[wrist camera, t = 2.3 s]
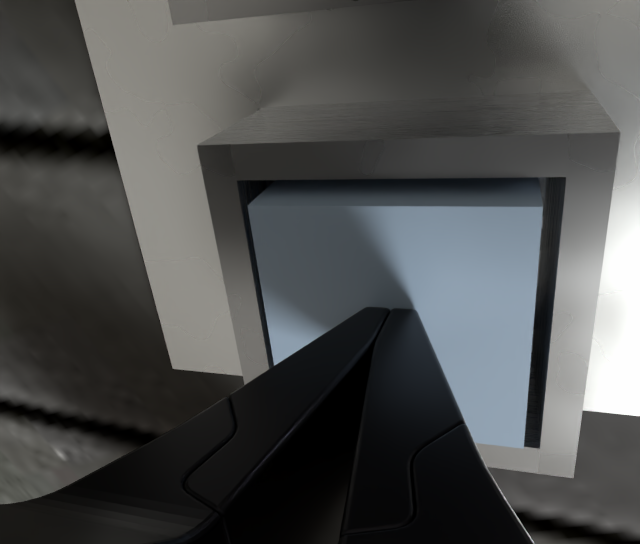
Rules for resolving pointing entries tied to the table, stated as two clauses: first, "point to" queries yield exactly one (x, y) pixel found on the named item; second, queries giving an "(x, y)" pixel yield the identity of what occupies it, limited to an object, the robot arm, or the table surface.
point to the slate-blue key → (412, 275)
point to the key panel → (385, 160)
